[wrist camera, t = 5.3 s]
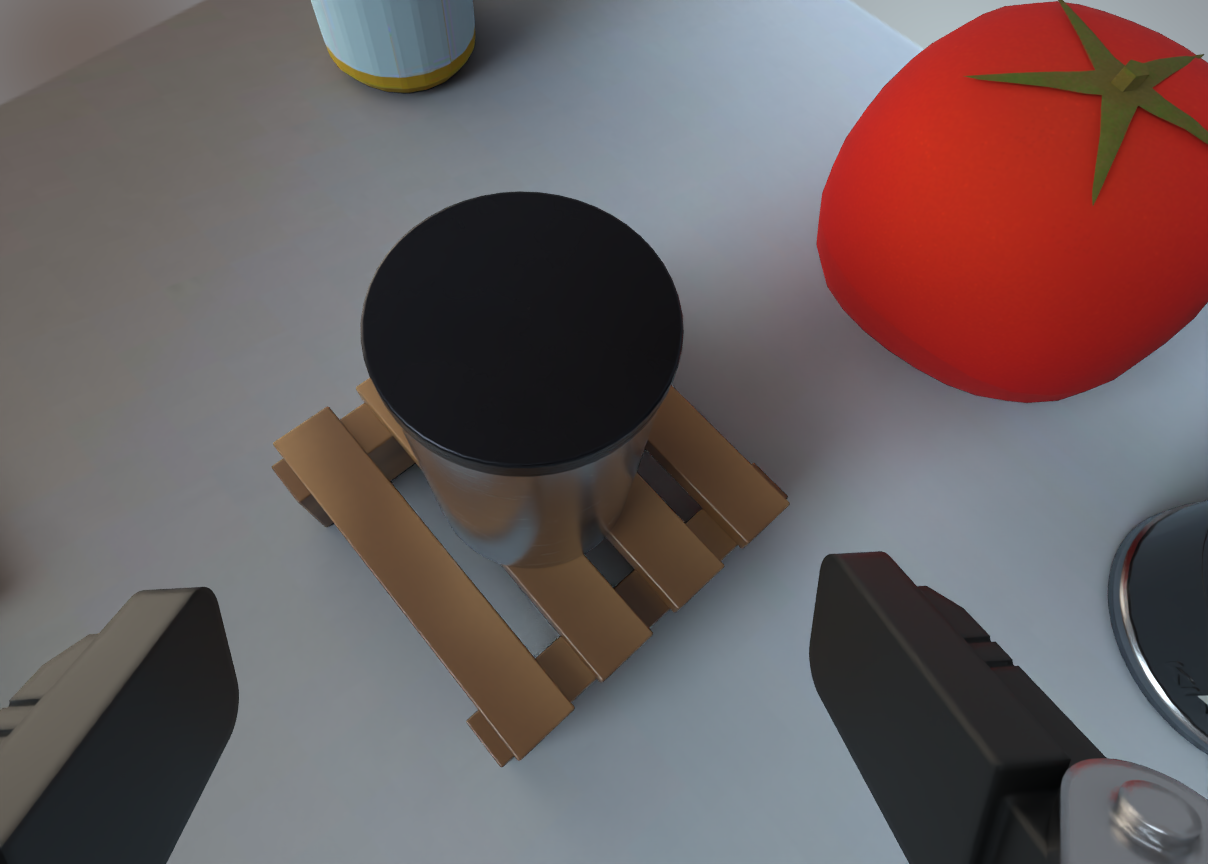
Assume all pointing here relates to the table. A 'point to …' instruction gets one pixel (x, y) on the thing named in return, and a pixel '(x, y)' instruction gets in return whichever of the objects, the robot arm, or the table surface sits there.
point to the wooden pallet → (561, 593)
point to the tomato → (1026, 203)
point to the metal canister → (524, 366)
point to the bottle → (398, 40)
